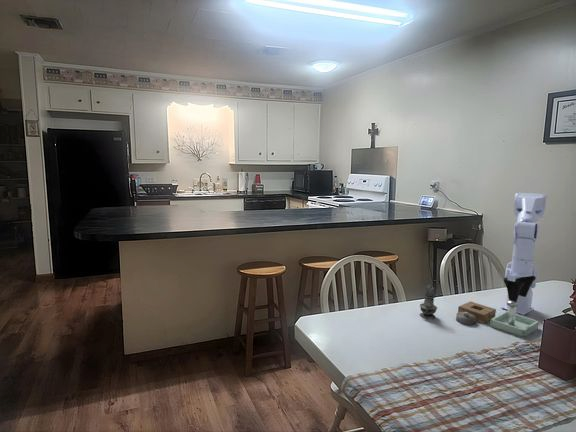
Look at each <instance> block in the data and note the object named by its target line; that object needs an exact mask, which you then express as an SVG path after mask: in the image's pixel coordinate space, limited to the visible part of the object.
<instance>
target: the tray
mask: <svg viewBox="0 0 576 432" xmlns="http://www.w3.org/2000/svg"><path fill="white" fill-rule="evenodd" d="M507 312H508V310H506V311H503V312H502V313H500V314H498V315H495V317H494V318H492V319H491V320H489V327H491V328H492V329H493V328H494V329H497V330H499V331H502V332H504V333H507V334H510V335H514V336H516V337H519V338H521V339H525V338H526V337H527V336H529V335H531V333H533V332H535V331H536V330H539V324H540V321H539V320H537V319H533V318H530V317H528V316H527V317H526V316H524V315H521V314H518V313H516V318H515V326H511V325H508V324H507Z"/></svg>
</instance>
